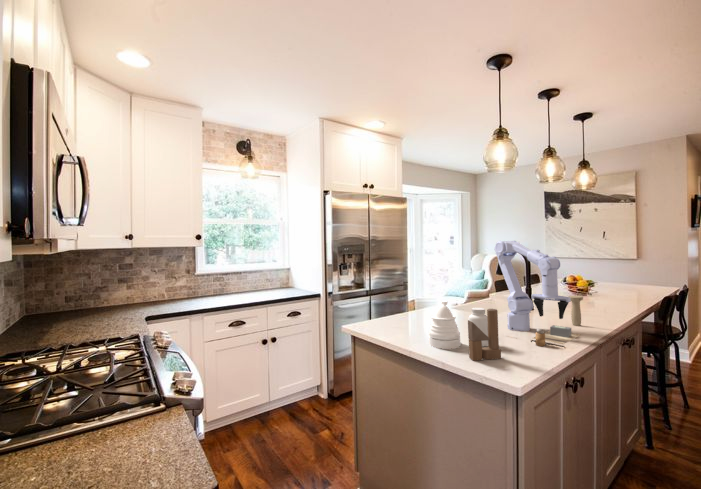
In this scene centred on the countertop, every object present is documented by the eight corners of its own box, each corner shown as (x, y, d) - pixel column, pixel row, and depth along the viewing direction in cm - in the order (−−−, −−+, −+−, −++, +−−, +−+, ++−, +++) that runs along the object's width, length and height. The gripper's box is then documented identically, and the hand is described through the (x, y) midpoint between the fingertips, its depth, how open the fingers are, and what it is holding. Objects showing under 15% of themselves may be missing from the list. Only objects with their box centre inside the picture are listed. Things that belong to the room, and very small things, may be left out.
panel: (563, 347, 133) (563, 344, 133) (531, 341, 142) (531, 338, 142) (581, 337, 145) (581, 334, 145) (551, 332, 154) (551, 329, 154)
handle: (586, 328, 159) (585, 297, 159) (575, 329, 158) (574, 297, 158) (577, 326, 164) (576, 295, 164) (566, 327, 163) (565, 296, 163)
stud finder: (568, 337, 141) (568, 329, 141) (550, 334, 146) (550, 326, 146) (571, 335, 144) (571, 327, 144) (553, 333, 149) (553, 324, 149)
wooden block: (468, 357, 124) (467, 309, 124) (496, 356, 125) (494, 308, 125) (473, 361, 120) (471, 311, 120) (501, 359, 121) (499, 310, 121)
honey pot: (434, 338, 150) (432, 299, 151) (463, 342, 144) (462, 300, 144) (425, 346, 139) (423, 303, 139) (456, 350, 133) (454, 305, 133)
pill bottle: (488, 342, 143) (487, 307, 143) (490, 347, 135) (488, 310, 135) (469, 341, 145) (468, 306, 145) (469, 346, 138) (468, 310, 138)
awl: (536, 346, 135) (536, 330, 135) (535, 343, 138) (534, 328, 138) (546, 346, 134) (545, 330, 134) (544, 344, 137) (543, 328, 137)
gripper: (572, 285, 139) (574, 318, 138) (535, 283, 150) (536, 313, 150) (566, 287, 134) (567, 321, 134) (528, 285, 145) (530, 316, 145)
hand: (551, 317), depth 142 cm, fingers open, 7 cm apart
